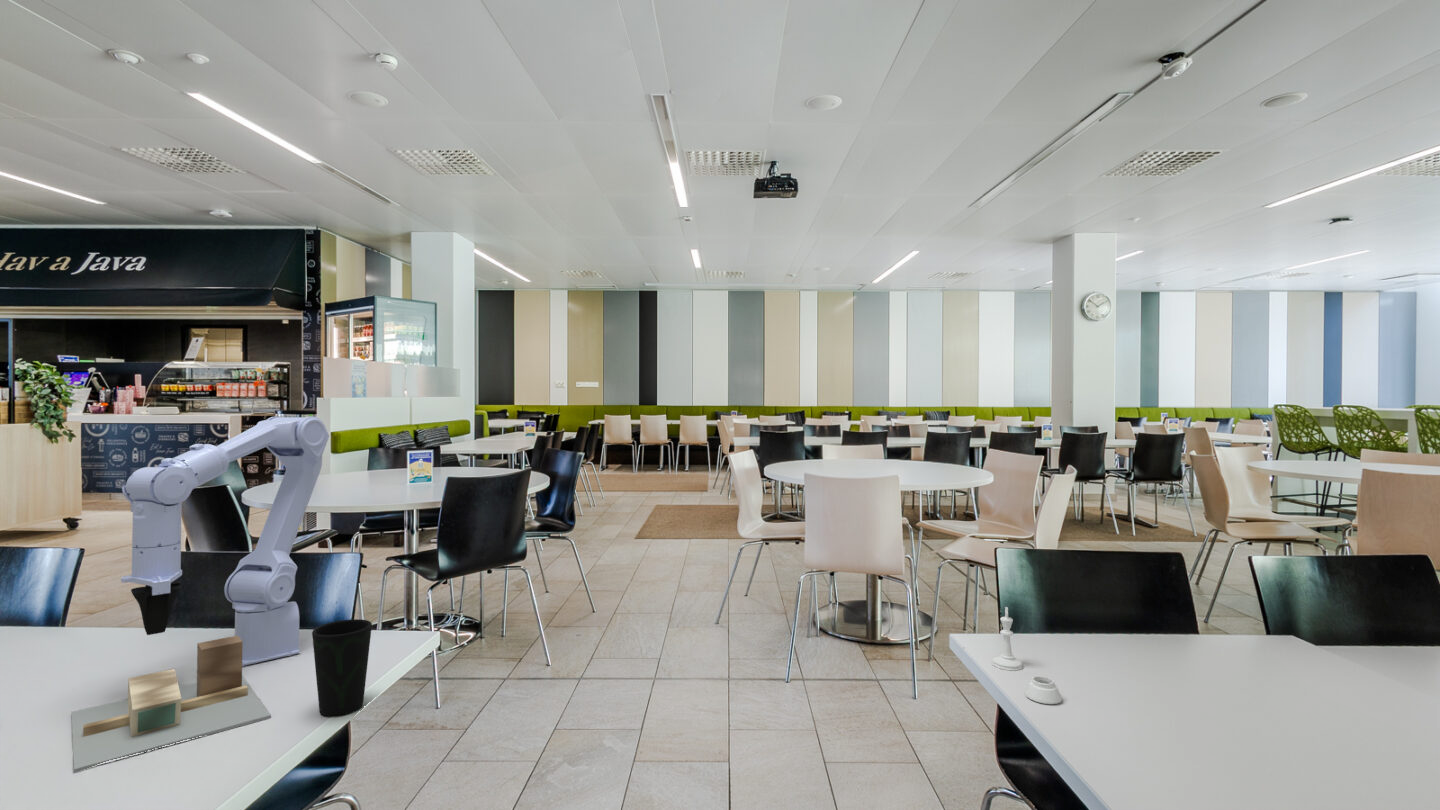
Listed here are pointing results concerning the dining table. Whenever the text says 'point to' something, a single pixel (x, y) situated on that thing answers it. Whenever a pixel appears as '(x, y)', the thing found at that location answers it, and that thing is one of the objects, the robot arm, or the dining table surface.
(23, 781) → the dining table surface
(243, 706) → the grey mat
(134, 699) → the beech block
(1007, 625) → the chess piece
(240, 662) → the walnut block
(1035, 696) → the white jar
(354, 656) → the cup
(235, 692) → the oak rail
